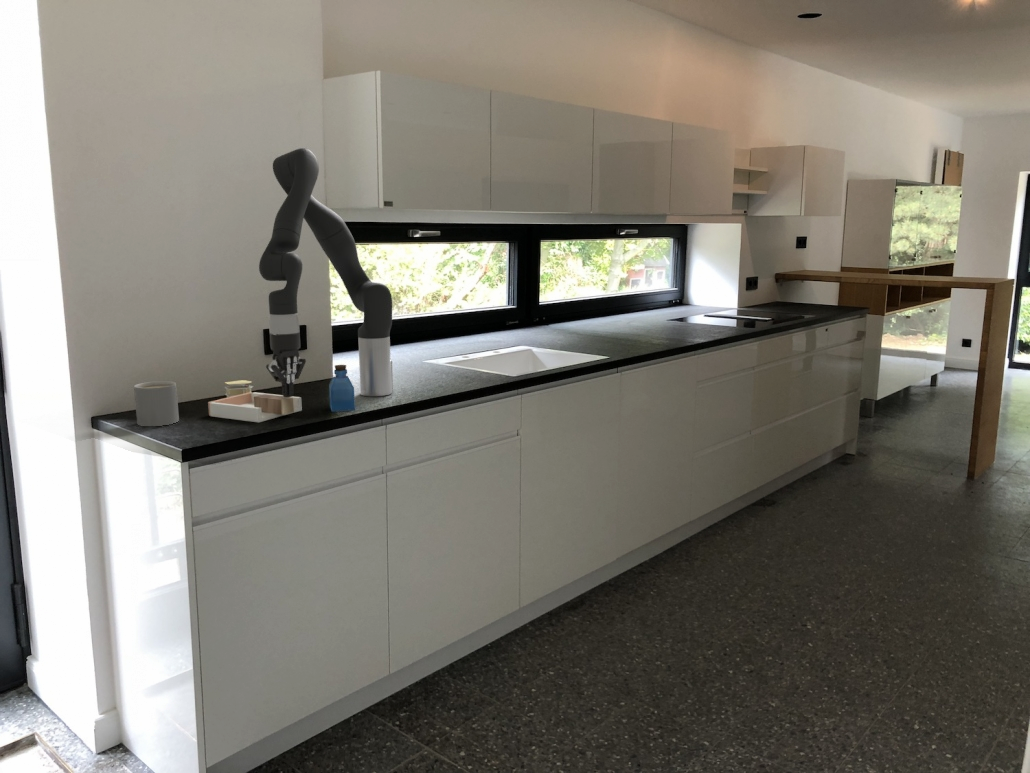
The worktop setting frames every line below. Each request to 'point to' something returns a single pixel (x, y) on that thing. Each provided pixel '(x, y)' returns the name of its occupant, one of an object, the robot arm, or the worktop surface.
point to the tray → (245, 408)
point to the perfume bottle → (341, 391)
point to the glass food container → (238, 388)
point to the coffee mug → (156, 403)
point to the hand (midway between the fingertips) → (288, 396)
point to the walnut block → (274, 404)
